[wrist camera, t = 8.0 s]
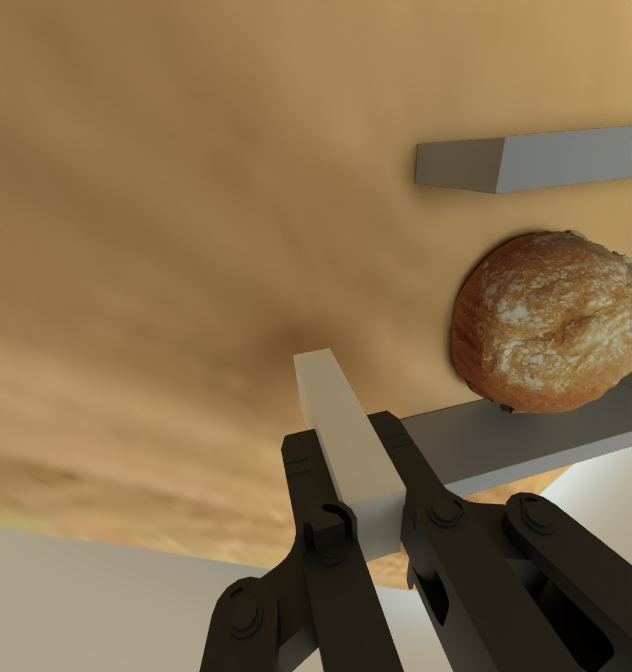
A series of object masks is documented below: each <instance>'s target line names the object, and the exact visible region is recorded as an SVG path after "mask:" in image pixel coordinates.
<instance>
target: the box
mask: <svg viewBox="0 0 632 672" xmlns="http://www.w3.org/2000/svg"><path fill="white" fill-rule="evenodd" d="M629 177H632V125H630V126H619V127H607V128H596V129H584V130H573V131H561V132H549V133H538V134H526V135H515V136H503V137H492V138H480V139H469V140H457V141H446V142H434V143H423V144H418V150H417V165H416V180H415V183H416V184H424V185H432V186H440V187H448V188H455V189H463V190H471V191H479V192H487V193H495V194H497V193H505V192H513V191H521V190H530V189H538V188H546V187H555V186H563V185H571V184H579V183H588V182H596V181H604V180H613V179H621V178H629ZM400 421H401V422H402V424H403V425H404V427H405V428H406V430H407V431H408V434H409V435H410V436H411V438H412V439H413V441H414V443H415V444H416V445H417V447H418V448H419V450H420V451H421V453H422V454H423V456H424V457H425V459H426V460H427V462H428V463H429V465H430V466H431V468H432V469H433V471H434V472H435V474H436V475H437V477H438V478H439V480H440V481H441V483H442V484H443V485H444V486H445V488H446V489H447V490H449V491H451V492H452V493H454V494H456V495H458V496H459V497H463V496H466V495H470V494H473V493H477V492H480V491H483V490H487V489H490V488H493V487H497V486H500V485H503V484H507V483H510V482H514V481H517V480H520V479H524V478H527V477H530V476H534V475H537V474H541V473H544V472H547V471H551V470H554V469H557V468H561V467H564V466H568V465H571V464H574V463H578V462H581V461H584V460H588V459H591V458H594V457H598V456H601V455H604V454H608V453H611V452H615V451H618V450H621V449H624V448H628V447H632V372H631V373H630V374H628V375H627V376H625V377H623V378H622V379H620V381H619V382H618V384H617V385H616V386H615V387H611V388H609V389H608V390H607V391H606V392H605V393H604V395H603V396H601V397H600V398H598V399H596V400H593V401H590V402H588V403H585V404H584V405H582V406H581V407H578V408H576V409H574V410H571V411H565V412H556V413H553V414H552V413H531V412H526V413H513V414H510V413H507V412H504V411H502V410H501V408H500V404H499V403H495V402H493V403H492V402H491V401H490V400H488V399H483V400H479V401H475V402H471V403H467V404H463V405H459V406H454V407H450V408H446V409H442V410H438V411H434V412H430V413H426V414H422V415H417V416H413V417H409V418H405V419H401V420H400Z"/></svg>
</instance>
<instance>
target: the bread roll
mask: <svg viewBox="0 0 632 672" xmlns="http://www.w3.org/2000/svg"><path fill="white" fill-rule="evenodd" d="M451 355H452V357H453V359H454V363H455V367H456V370H457V371H458V373H459V374H460V375H461V376H462V377H463V378H464V380H465V382H466V383H467V385H468V387H469V388H470V390H472V391H473V392H475V393H477V394H478V395H480V396H481V397H483V398H486V399H488V400H490V401H491V402H492V403H493V402H495V403H499V404H500V408H501V410H502V411H504V412H507V413H510V414H513V413H526V412H531V413H552V414H553V413H556V412H565V411H571V410H574V409H576V408H578V407H581V406H582V405H584V404H585V403H588V402H590V401H593V400H596V399H598V398H600V397H601V396H603V395H604V393H605V392H606V391H607V390H608V389H609V388H611V387H615V386H616V385H617V384H618V382H619V381H620V379H622V378H623V377H625V376H627V375H628V374H630V373H631V372H632V259H631V258H629V257H627V256H626V255H619V254H618V253H617V252H615V251H613V252H611V251H609V250H608V249H607V248H605V247H604V246H603V245H600V244H596V243H593V242H592V241H588V240H587V239H586V237H585V236H584V235H583V234H582V233H580V232H578V231H574V230H571V231H570V232H569V233H566V232H550V231H542V232H539V233H536V234H532V235H529V236H524V237H519V238H516V239H514V240H512V241H510V242H508V243H507V244H505V245H504V246H502V247H500V248H499V249H497V250H495V251H494V252H493V253H492V254H490V255H489V256H488V257H487V258H486V259H485V260H484V261H483V262H482V263H481V264H480V265H479V266H478V267H477V269H476V270H475V271H474V273H473V274H472V275H471V277H470V278H469V279H468V281H467V282H466V283H465V285H464V287H463V288H462V290H461V292H460V294H459V296H458V298H457V300H456V304H455V311H454V314H453V324H452V330H451Z"/></svg>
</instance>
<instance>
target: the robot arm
mask: <svg viewBox="0 0 632 672" xmlns="http://www.w3.org/2000/svg"><path fill="white" fill-rule="evenodd" d="M293 356H294V364H295V371H296V379H297V386H298V394H299V402H300V408H301V411H302V415H303V418H304V421H305V425H306V428H307V431H302V432H298V433H294V434H290V435H286V436H285V437H284V441H283V444H282V448H281V452H282V457H283V463H284V468H285V473H286V479H287V484H288V489H289V494H290V500H291V505H292V510H293V515H294V520H295V526H296V536H295V542H294V544H293V547H292V549H291V551H290V553H289V554H288V555H287V557H286V558H285V559H284V560H283V561H282V562H281V563H280V564H279V565H278V566H276V567H275V568H274V569H272V570H271V571H270V572H268V573H267V574H266V575H264V576H263V577H262V578H255V577H247V578H243V579H239V580H237V581H236V582H234V583H233V584H232V585H230V586H229V587H227V589H226V590H225V591H224V592H223V594H222V595H221V596H220V598H219V599H218V600H217V603H216V606H215V609H214V611H213V614H212V617H211V622H210V626H209V631H208V636H207V640H206V644H205V649H204V654H203V658H202V663H201V667H200V672H292V671H293V670H294V669H296V667H298V666H299V665H300V664H301V663H302V662H303V661H304V660H305V659H306V658H307V657H309V656H310V655H311V654H312V653H313V652H314V651H315V650H316V649H317V648H318V647H319V651H320V655H321V661H322V666H323V671H324V672H404V671H403V668H402V665H401V662H400V659H399V656H398V653H397V650H396V648H395V645H394V642H393V639H392V636H391V633H390V630H389V628H388V625H387V622H386V619H385V616H384V613H383V610H382V607H381V605H380V602H379V599H378V596H377V593H376V590H375V587H374V585H373V582H372V579H371V576H370V573H369V570H368V567H367V565H366V562H367V561H371V560H374V559H377V558H380V557H383V556H386V555H389V554H393V553H396V552H399V551H400V548H401V541H402V543H403V546H404V548H405V550H406V552H407V554H408V556H409V563H408V571H407V583H408V588H409V590H410V589H413V584H415V586H416V588H417V590H418V592H419V595H420V597H421V599H422V602H423V604H424V606H425V608H426V611H427V613H428V615H429V617H430V620H431V622H432V624H433V627H434V629H435V631H436V633H437V636H438V638H439V640H440V643H441V645H442V647H443V649H444V652H445V654H446V656H447V658H448V661H449V663H450V665H451V668H452V670H453V672H632V565H631V564H630V563H628V562H627V561H626V560H625V559H623V558H622V557H621V556H619V555H618V554H617V553H616V552H615V551H613V550H612V549H611V548H609V547H608V546H607V545H606V544H605V543H603V542H602V541H601V540H599V539H598V538H597V537H596V536H594V535H593V534H592V533H590V532H589V531H588V530H587V529H586V528H584V527H583V526H582V525H580V524H579V523H578V522H577V521H575V520H574V519H573V518H572V517H570V516H569V515H568V514H567V513H565V512H564V511H563V510H562V509H560V508H559V507H558V506H557V505H555V504H554V503H552V502H551V501H549V500H547V499H545V498H544V497H542V496H539V495H536V494H533V493H524V492H520V493H517V494H514V495H511V497H510V498H509V499H508V501H507V502H506V505H503V504H484V503H474V502H469V501H466V500H463V499H461V497H459V496H458V495H456V494H454V493H452V492H451V491H449V490H447V489H446V488H445V486H444V485H443V484H442V483H441V481H440V480H439V478H438V477H437V475H436V474H435V472H434V471H433V469H432V468H431V466H430V465H429V463H428V462H427V460H426V459H425V457H424V456H423V454H422V453H421V451H420V450H419V448H418V447H417V445H416V444H415V443H414V441H413V439H412V438H411V436H410V435H409V434H408V431H407V430H406V428H405V427H404V425H403V424H402V422H401V421H400V419H398V418H397V417H395V416H394V415H393V414H391V413H390V412H388V411H383V412H378V413H374V414H370V415H366V414H365V412H364V410H363V408H362V406H361V405H360V403H359V401H358V399H357V397H356V395H355V394H354V392H353V390H352V388H351V386H350V384H349V382H348V381H347V379H346V377H345V375H344V373H343V371H342V370H341V368H340V366H339V364H338V362H337V360H336V359H335V357H334V355H333V353H332V351H331V349H330V348H327V349H322V350H316V351H311V352H306V353H301V354H296V355H293Z"/></svg>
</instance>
